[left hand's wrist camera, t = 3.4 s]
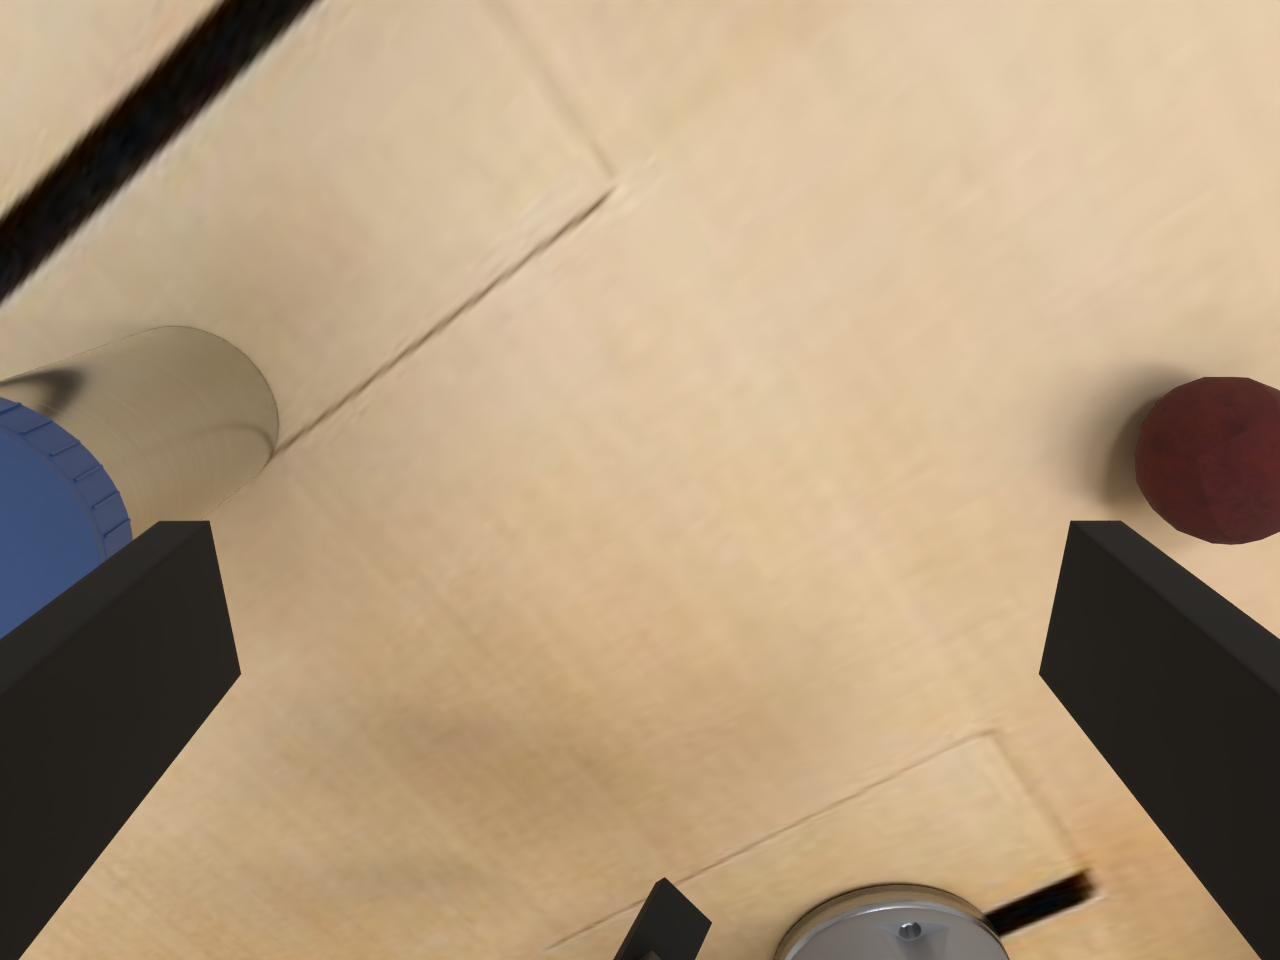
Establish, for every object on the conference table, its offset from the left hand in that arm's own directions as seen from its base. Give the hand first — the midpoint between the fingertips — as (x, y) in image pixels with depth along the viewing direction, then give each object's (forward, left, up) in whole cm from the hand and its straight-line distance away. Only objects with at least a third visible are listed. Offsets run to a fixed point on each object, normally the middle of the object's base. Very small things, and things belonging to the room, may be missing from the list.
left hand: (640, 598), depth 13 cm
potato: (+6, +27, -28) cm, 39 cm away
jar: (+5, -22, -28) cm, 36 cm away
